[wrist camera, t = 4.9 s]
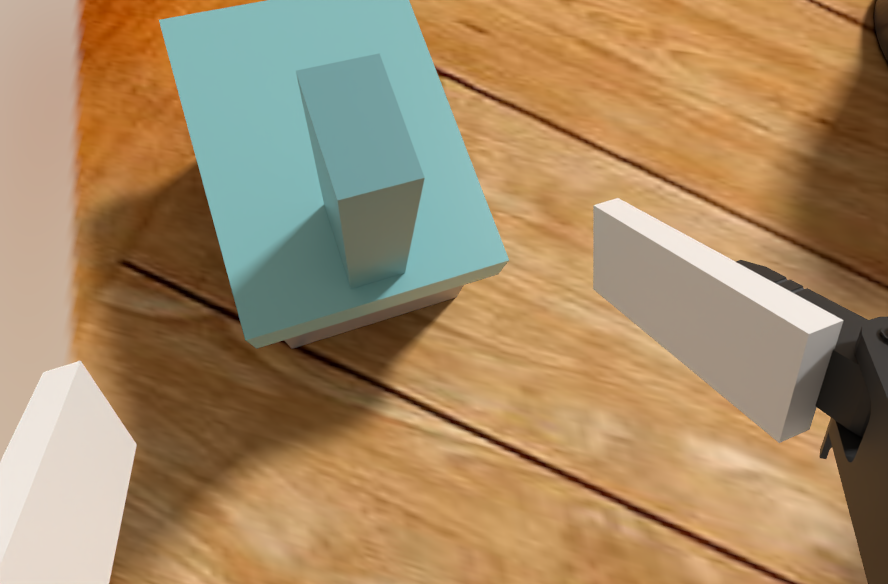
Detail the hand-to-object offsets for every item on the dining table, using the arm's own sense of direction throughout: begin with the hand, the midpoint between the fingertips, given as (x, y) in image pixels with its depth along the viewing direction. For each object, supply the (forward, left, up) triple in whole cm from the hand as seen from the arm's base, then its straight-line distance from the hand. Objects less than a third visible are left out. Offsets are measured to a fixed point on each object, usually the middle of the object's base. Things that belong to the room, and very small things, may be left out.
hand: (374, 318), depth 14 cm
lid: (-9, -4, -11) cm, 15 cm away
